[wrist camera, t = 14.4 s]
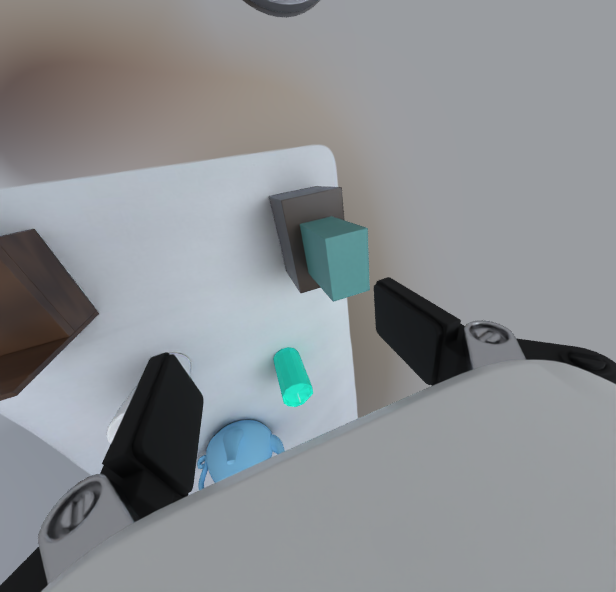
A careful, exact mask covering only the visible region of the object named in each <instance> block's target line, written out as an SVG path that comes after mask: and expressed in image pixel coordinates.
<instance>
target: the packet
mask: <svg viewBox="0 0 616 592" xmlns="http://www.w3.org/2000/svg"><path fill="white" fill-rule="evenodd" d="M300 229H301V234H302V240H303V245H304V251H305V256H306V262H307V267H308V273H309V274H310V275H311V277H312V278H313V279H314V280H315V281H316V282H317V284H318V285H319V286H320V287H321V288H322V289H323V291H324V292H325V293H326V294H327V295H328V296H329V297H330V299H331V300H332V301H333V302H334V301H337V300H340V299H343V298H346V297H350V296H353V295H356V294H359V293H362V292H365V291H368V290H370V287H369V258H368V229H367V228H365V227H362V226H360V225H356V224H353V223H350V222H347V221H344V220H341V219H338V218H335V217H332V216H331V217H327V218H323V219H319V220H314V221H310V222H306V223H302V224H300Z"/></svg>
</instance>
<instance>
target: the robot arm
mask: <svg viewBox="0 0 616 592" xmlns="http://www.w3.org/2000/svg"><path fill="white" fill-rule="evenodd" d="M374 301H375V319H376V330H377V333H378V334H379V335H380V336H381V338H382V339H383V340H384V341H385V342H386V343H387V344H388V345H389V346H390V347H391V348H392V349H393V350H394V351H395V352H396V353H397V354H398V355H399V356H400V357H401V358H402V359H403V360H404V361H405V362H406V363H407V364H408V365H409V366H410V367H411V368H412V369H413V370H414V372H415V373H416V374H417V375H418V376H419V377H420V378H421V379H422V380H423V381H424V382H425V383H426V384H428V385H432V386H431V387H429V388H426V389H424V390H422V391H419V392H417V393H415V394H413V395H410V396H408V397H406V398H404V399H401V400H399V401H397V402H394V403H392V404H390V405H388V406H385V407H383V408H381V409H379V410H376V411H374V412H372V413H369V414H367V415H365V416H363V417H360V418H358V419H356V420H354V421H351V422H349V423H347V424H345V425H343V426H340V427H338V428H336V429H334V430H331V431H329V432H327V433H325V434H322V435H320V436H318V437H316V438H314V439H311V440H309V441H307V442H305V443H302V444H300V445H298V446H296V447H293V448H291V449H289V450H287V451H285V452H282V453H280V454H278V455H276V456H274V457H271V458H269V459H267V460H265V461H263V462H260V463H258V464H256V465H254V466H252V467H249V468H247V469H245V470H243V471H241V472H238V473H236V474H234V475H232V476H229V477H227V478H225V479H223V480H221V481H218V482H216V483H214V484H212V485H210V486H208V487H206V488H203V489H201V490H199V491H197V492H195V493H193V494H191V495H189V496H188V493H189V492H191V491H192V488H193V484H194V476H195V467H196V459H197V451H198V443H199V435H200V427H201V418H202V410H203V396H202V394H201V392H200V391H199V389H198V388H197V386H196V385H195V384H194V382H193V381H192V379H191V378H190V376H189V375H188V373H187V372H186V370H185V369H184V368H183V366H182V365H181V363H180V362H179V360H178V359H177V357H176V356H175V355H174V354H171V355H170V354H169V353H163V354H160V355H157V356H154V357H152V358H150V360H149V362H148V364H147V366H146V368H145V370H144V373H143V375H142V377H141V379H140V381H139V384H138V386H137V388H136V390H135V392H134V395H133V397H132V399H131V401H130V403H129V405H128V408H127V410H126V412H125V414H124V416H123V419H122V421H121V423H120V425H119V427H118V430H117V432H116V434H115V436H114V438H113V441H112V443H111V445H110V447H109V449H108V452H107V454H106V456H105V458H104V460H103V463H102V464H103V465H104V466H103V468H102V470H101V473H100V474H96V475H93V476H90V477H87V478H86V479H84V480H82V481H80V482H79V483H78V484H76V485H75V486H74V487H73V488H71V489H70V490H69V491H68V492H67V493H66V494H65V495H64V496H63V497H62V498H61V499H60V500H59V501H58V502H57V503H56V505H55V506H54V507H53V508H52V509H51V511H50V512H49V514H48V515H47V517H46V518H45V520H44V522H43V524H42V526H41V529H40V531H39V534H38V544H39V547H38V548H37V549H36V550H35V551H34V552H33V553H32V554H31V555H30V556H29V557H28V558H27V559H26V560H25V561H24V562H23V563H22V564H21V565H20V566H19V567H18V568H17V569H16V570H15V571H14V572H13V573H12V575H10V576H9V577H8V578H7V579H6V580H5V581H4V582H3V583H2V584H1V585H0V592H616V363H615V362H613V361H612V360H610V359H609V358H607V357H606V356H604V355H601V354H599V353H597V352H594V351H591V350H588V349H585V348H580V347H574V346H567V345H559V344H552V343H545V342H538V341H531V340H522V339H516V338H515V336H514V334H513V333H512V332H511V331H510V330H509V329H508V328H506V327H504V326H502V325H500V324H497V323H494V322H490V321H473V322H470V323H468V324H466V326H464V325H462V324H460V322H461V320H460V319H458V318H456V317H455V316H453V315H451V314H450V313H448V312H446V311H445V310H443V309H441V308H440V307H438V306H436V305H435V304H433V303H431V302H430V301H428V300H426V299H425V298H423V297H421V296H420V295H418V294H416V293H415V292H413V291H411V290H410V289H408V288H406V287H405V286H403V285H401V284H400V283H398V282H396V281H395V280H393V279H391V278H389V277H388V278H384V279H382V280H379V281H377V283H376V285H374Z"/></svg>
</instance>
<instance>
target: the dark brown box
mask: <svg viewBox="0 0 616 592" xmlns="http://www.w3.org/2000/svg"><path fill="white" fill-rule="evenodd" d="M269 199H270V204H271V208H272V212H273V216H274V221H275V225H276V229H277V234H278V238H279V242H280V246H281V251H282V255H283V259H284V264H285V268H286V271H287V273H288V274H289V276H290V278H291V279H292V281H293V282H294V284H295V285H296V287H297V289H298V290H299V292H300V293H304V292H307V291H311V290H314V289H317V288H321V287H320V286H319V285H318V284H317V282H316V281H315V280H314V279H313V278H312V277H311V275H310V274H309V273H308V267H307V262H306V256H305V251H304V245H303V240H302V234H301V229H300V224H302V223H306V222H310V221H314V220H319V219H323V218H327V217H331V216H332V217H335V218H338V219H341V220H344V211H343V198H342V188H341V187H321V186H315V187H310V188H305V189H300V190H296V191H291V192H286V193H281V194H277V195H272V196H269Z"/></svg>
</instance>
